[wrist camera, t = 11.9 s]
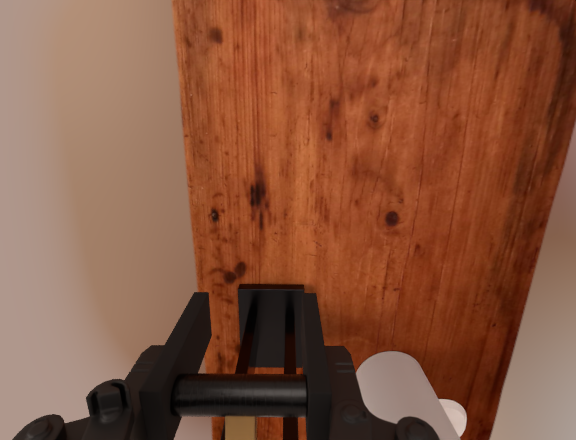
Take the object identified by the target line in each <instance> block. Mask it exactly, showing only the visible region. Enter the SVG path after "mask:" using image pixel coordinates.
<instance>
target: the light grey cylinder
mask: <svg viewBox="0 0 576 440" xmlns="http://www.w3.org/2000/svg"><path fill="white" fill-rule="evenodd" d="M356 376H357V380H358V384H359V387H360V391H361V395H362V399H363V402H364V404H365V406H366V407H367V408H368V410H369V411H370V412H371V413H372V414H373V415H375V416H376V417H378V418H380V419H383V420H385V421H389V422H392V423H395V424H397V423H398V421H399V420H400V419H401V418H403V417H408V416H412V417H417V418H420V419H422V420H424V421H426V422H427V423H428V424H429V425H430V426H432V427H433V429H434V430H435V432H436V433H437V435H438V437H439V439H440V440H460V438H459V436H458V434H457V432H456V431H455V429H454V427H453V425H452V423H451V421H450V420H449V418H448V416H447V414H446V412H445V410H444V409H443V407H442V405H441V403H440V401H439V399H438V398H437V396H436V394H435V392H434V390H433V388H432V387H431V385H430V383H429V381H428V379H427V377H426V376H425V374H424V372H423V370H422V368H421V367H420V365H419V363H418V362H417V361H416V360H415V359H414V358H413V357H411V356H410V355H408V354H405V353H402V352H397V351H387V352H381V353H378V354H375V355H373V356H371V357H370V358H368V359H367V360H365V361H364V362H363V363H362V364H361V365H360V367H359V368H358V370H357V372H356Z"/></svg>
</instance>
